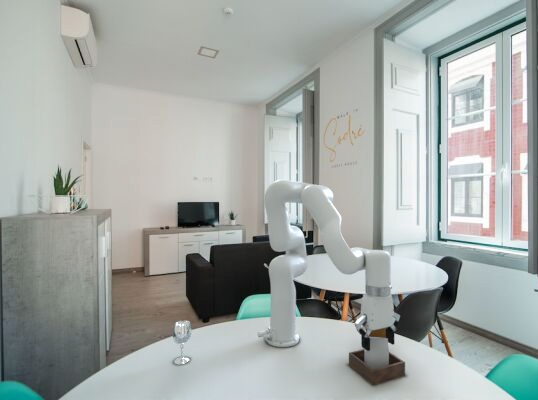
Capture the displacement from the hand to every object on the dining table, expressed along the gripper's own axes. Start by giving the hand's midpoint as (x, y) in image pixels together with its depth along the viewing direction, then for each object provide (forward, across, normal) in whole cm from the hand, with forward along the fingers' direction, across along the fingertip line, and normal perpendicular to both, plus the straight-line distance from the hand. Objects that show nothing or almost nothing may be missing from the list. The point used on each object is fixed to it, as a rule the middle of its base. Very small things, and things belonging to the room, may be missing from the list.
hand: (378, 345), depth 92 cm
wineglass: (+7, +55, -30) cm, 63 cm away
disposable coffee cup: (+8, -9, -11) cm, 17 cm away
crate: (+8, 0, -1) cm, 8 cm away
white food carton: (+8, 0, -1) cm, 8 cm away
